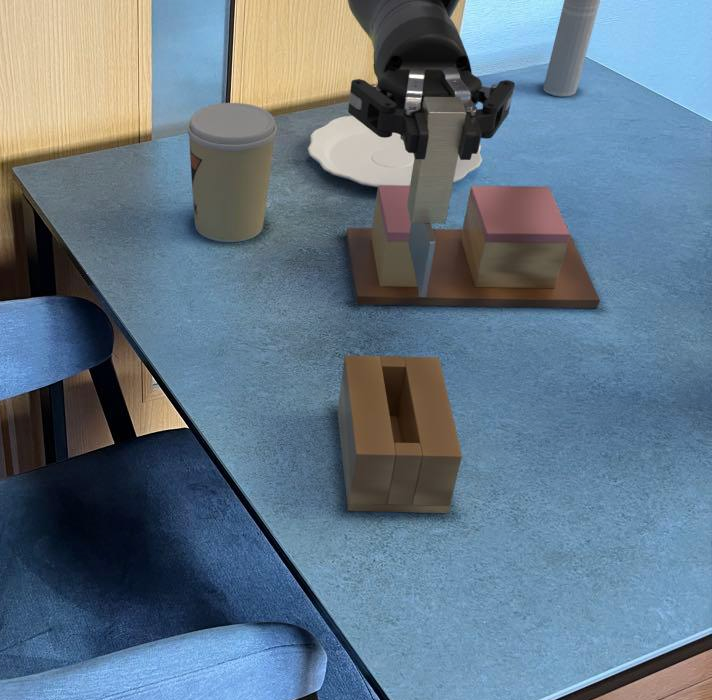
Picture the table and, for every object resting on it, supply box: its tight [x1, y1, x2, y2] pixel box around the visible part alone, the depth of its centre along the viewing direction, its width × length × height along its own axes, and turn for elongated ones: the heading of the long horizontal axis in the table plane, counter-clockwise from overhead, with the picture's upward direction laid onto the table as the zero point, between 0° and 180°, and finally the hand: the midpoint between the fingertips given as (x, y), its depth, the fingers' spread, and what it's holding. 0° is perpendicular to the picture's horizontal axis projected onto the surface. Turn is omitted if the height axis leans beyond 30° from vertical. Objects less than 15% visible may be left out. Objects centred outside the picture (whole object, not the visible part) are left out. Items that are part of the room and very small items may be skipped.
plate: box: [307, 115, 483, 188], centre depth 126 cm, size 21×21×2 cm
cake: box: [346, 185, 601, 309], centre depth 106 cm, size 24×14×7 cm, turn 87°
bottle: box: [543, 0, 601, 98], centre depth 134 cm, size 4×4×20 cm
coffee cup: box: [187, 102, 278, 243], centre depth 112 cm, size 9×9×12 cm
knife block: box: [337, 355, 463, 514], centre depth 85 cm, size 8×13×6 cm, turn 177°
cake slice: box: [371, 185, 418, 287], centre depth 106 cm, size 4×10×6 cm, turn 177°
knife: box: [407, 97, 466, 297], centre depth 83 cm, size 3×9×14 cm, turn 177°
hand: (445, 147), depth 78 cm, fingers closed on knife, 3 cm apart
